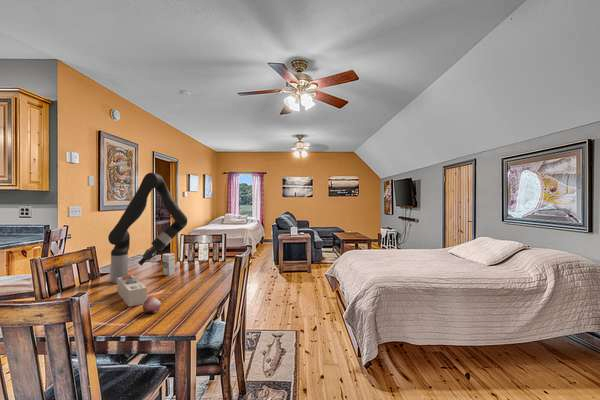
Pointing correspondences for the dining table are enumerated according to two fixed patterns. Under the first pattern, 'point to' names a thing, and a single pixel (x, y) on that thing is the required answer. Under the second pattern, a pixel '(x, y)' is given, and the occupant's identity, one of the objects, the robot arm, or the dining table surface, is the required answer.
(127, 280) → the slate button
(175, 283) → the dining table surface
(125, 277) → the terracotta button
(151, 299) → the onion
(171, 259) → the syrup box
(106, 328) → the dining table surface
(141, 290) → the block
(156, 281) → the dining table surface
